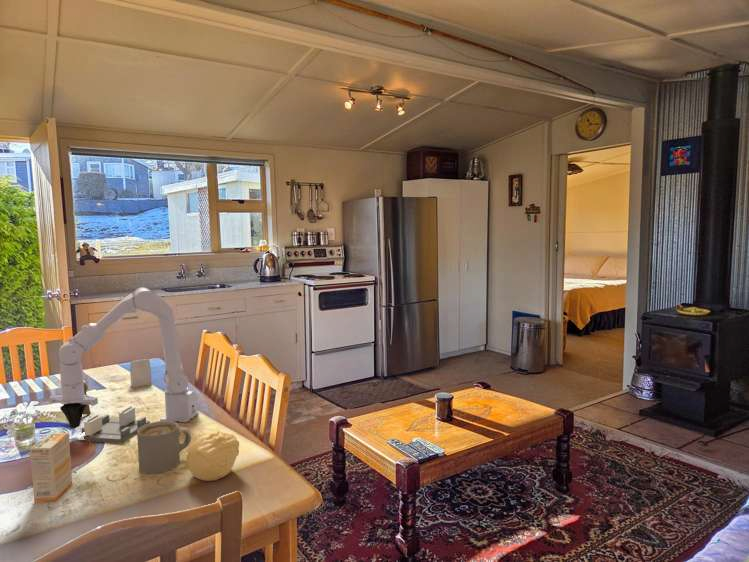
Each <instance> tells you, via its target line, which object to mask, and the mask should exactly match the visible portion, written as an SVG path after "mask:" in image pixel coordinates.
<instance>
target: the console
mask: <svg viewBox="0 0 749 562" xmlns="http://www.w3.org/2000/svg"><path fill="white" fill-rule="evenodd" d="M149 423H151V422H150V420H147V416H141V418H139V419H136V420H134V421H133V422H131V423H129V424H128V425H126V426H120V425H119V418H111V417H110V414H105V415H103V416H102V428H103V429H101V430H99V431H98V432H96V433H94V434H93V435H86V436H84V439H85V440H89V441H88V442H95V443H110V444H111V443H112V444H123V443H124V442H126V441H127V440H129V439H130V438H132V437H134V436H135V435H136V434H137V430H138V429H139V428H140V427H142V426H143V425H146V424H149ZM80 429H81V430H80V431H81V434H82V433H83V432H85V431H84V426H83V427H82V428H80Z"/></svg>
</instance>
